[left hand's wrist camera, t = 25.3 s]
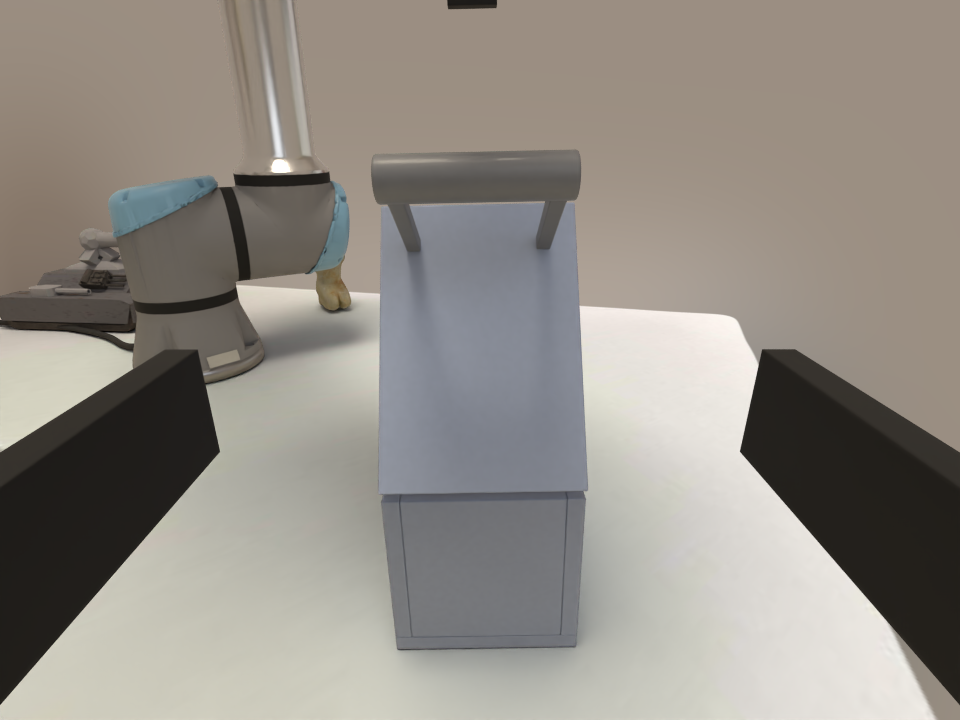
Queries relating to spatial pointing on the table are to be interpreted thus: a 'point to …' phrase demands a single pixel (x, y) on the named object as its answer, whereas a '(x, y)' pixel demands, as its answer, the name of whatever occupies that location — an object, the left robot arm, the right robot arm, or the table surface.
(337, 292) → the sculpture
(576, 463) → the lid
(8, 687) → the left robot arm
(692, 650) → the table surface
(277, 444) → the table surface
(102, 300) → the toy
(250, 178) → the right robot arm
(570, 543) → the chest
